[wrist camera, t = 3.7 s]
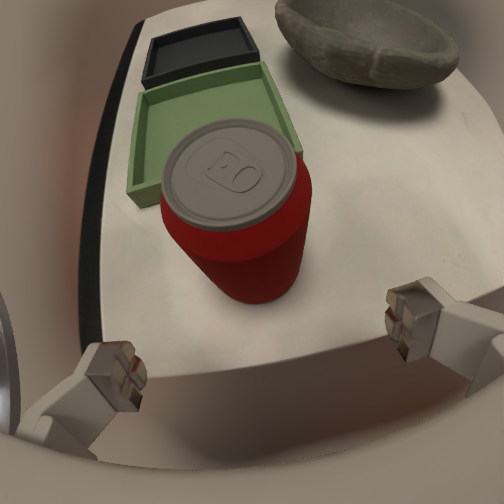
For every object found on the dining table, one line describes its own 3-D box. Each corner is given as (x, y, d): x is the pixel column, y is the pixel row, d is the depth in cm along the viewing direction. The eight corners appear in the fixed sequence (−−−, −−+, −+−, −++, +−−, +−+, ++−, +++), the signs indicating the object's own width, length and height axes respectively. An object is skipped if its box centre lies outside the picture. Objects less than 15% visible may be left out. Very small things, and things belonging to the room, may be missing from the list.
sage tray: (139, 208, 24) (125, 193, 22) (146, 108, 30) (138, 92, 27) (302, 171, 24) (303, 150, 21) (265, 78, 29) (264, 60, 27)
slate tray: (148, 96, 31) (140, 81, 28) (156, 50, 36) (151, 38, 34) (261, 68, 30) (259, 51, 28) (242, 29, 36) (240, 16, 33)
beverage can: (249, 207, 23) (221, 91, 12) (317, 253, 21) (347, 149, 10) (195, 270, 22) (115, 188, 11) (263, 324, 20) (236, 287, 9)
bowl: (463, 141, 24) (497, 83, 14) (277, 117, 27) (271, 35, 17) (410, 47, 31) (420, 2, 22) (279, 31, 34) (275, -19, 25)
